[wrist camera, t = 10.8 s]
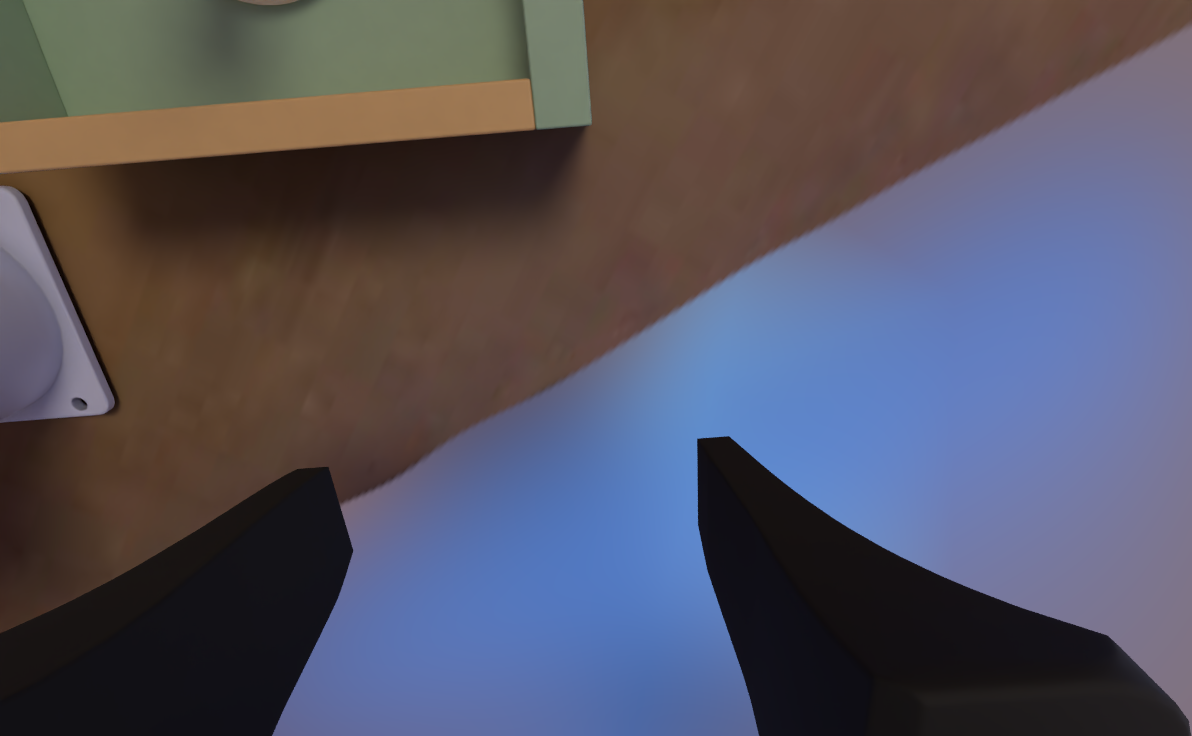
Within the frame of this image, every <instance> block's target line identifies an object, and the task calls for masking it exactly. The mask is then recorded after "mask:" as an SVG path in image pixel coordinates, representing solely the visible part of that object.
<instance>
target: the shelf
mask: <svg viewBox="0 0 1192 736" xmlns="http://www.w3.org/2000/svg"><path fill="white" fill-rule="evenodd" d="M591 124H592V117H591V103H590V89H589V76H588V62H587V48H586V34H585V21H584V7H583V0H299V1H295V2H292V3H288V4H282V5H257V4H251V3H246V2H242V1H239V0H0V174H8V173H20V172H32V171H44V170H56V169H68V168H80V167H93V166H105V165H117V164H129V163H141V162H153V161H165V160H177V159H190V158H202V157H214V156H226V155H238V154H250V153H262V152H275V151H287V150H299V149H311V148H323V147H335V146H347V145H360V144H372V143H384V142H396V141H408V140H420V139H432V138H445V137H457V136H469V135H481V134H493V133H505V132H517V131H530V130H535V129H538V130H542V129H554V128H566V127H578V126H590V125H591Z"/></svg>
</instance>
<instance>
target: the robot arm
mask: <svg viewBox="0 0 1192 736" xmlns="http://www.w3.org/2000/svg"><path fill="white" fill-rule="evenodd" d="M80 398H81V399H83V400H84V401H85V402H86V403H87V405H85V404H84V403H83V402H82V401H81V400H80ZM114 404H115V401H114V397H113V395H112V392H111V390H110V388H109V386H108V383H107V381H106V379H105V376H104V374H103V372H102V370H101V367H100V365H99V363H98V361H97V358H96V356H95V354H94V352H93V349H92V347H91V345H90V342H89V340H88V338H87V336H86V333H85V331H84V329H83V327H82V324H81V322H80V320H79V318H78V315H77V313H76V311H75V308H74V306H73V304H72V302H71V299H70V297H69V295H68V293H67V290H66V288H65V286H64V283H63V281H62V279H61V277H60V274H59V272H58V270H57V268H56V265H55V263H54V261H53V259H52V256H51V254H50V252H49V249H48V247H47V245H46V243H45V240H44V238H43V236H42V234H41V231H40V229H39V227H38V225H37V222H36V220H35V218H34V215H33V213H32V211H31V209H30V206H29V204H28V202H27V200H26V198H25V197H24V195H23V194H22V193H21V192H20V191H18V190H17V189H15V188H13V187H11V186H0V423H1V422H14V421H27V420H40V419H53V418H66V417H79V416H92V415H101V414H105V413H106V412H108V411H109V410H111V409H112V408H113V407H114ZM697 447H698V448H697V449H698V450H697V451H698V452H697V453H698V526H699V531H700V536H701V541H702V546H703V551H704V556H705V560H706V565H707V570H708V573H709V576H710V579H711V582H712V585H713V588H714V591H715V594H716V597H717V600H718V603H719V606H720V609H721V612H722V615H723V618H724V620H725V623H726V626H727V629H728V632H729V635H730V638H731V641H732V644H733V646H734V650H735V652H736V655H737V658H738V661H739V664H740V667H741V670H742V673H743V676H744V679H745V682H746V686H747V689H748V693H749V696H750V699H751V703H752V707H753V711H754V716H755V720H756V724H757V728H758V733H759V736H1191V733H1190V726H1189V721H1188V719H1187V718H1186V716H1185V715H1184V714H1183V712H1182V711H1181V710H1180V708H1179V707H1178V705H1177V704H1176V703H1175V702H1174V701H1173V700H1172V699H1171V698H1170V697H1169V696H1168V695H1167V694H1166V693H1165V692H1164V691H1163V690H1162V689H1161V688H1160V687H1159V686H1158V685H1157V684H1156V683H1155V682H1154V681H1153V680H1152V679H1151V678H1150V677H1149V676H1148V675H1147V674H1146V673H1145V672H1144V671H1143V670H1142V669H1141V668H1140V667H1139V666H1138V665H1137V664H1136V663H1135V662H1134V661H1133V660H1132V659H1131V658H1130V657H1129V656H1128V655H1127V654H1126V653H1125V652H1124V651H1123V650H1122V649H1121V648H1120V647H1119V646H1118V645H1117V644H1116V643H1115V642H1114V641H1113V640H1112V639H1111V638H1109V637H1108V636H1107V635H1104V634H1101V633H1098V632H1094V631H1092V630H1088V629H1085V628H1082V627H1079V626H1076V625H1073V624H1070V623H1066V622H1063V621H1060V620H1057V619H1054V618H1051V617H1047V616H1045V615H1042V614H1039V613H1035V612H1032V611H1029V610H1026V609H1023V608H1020V607H1017V606H1015V605H1012V604H1009V603H1007V602H1004V601H1001V600H999V599H996V598H994V597H991V596H988V595H986V594H983V593H980V592H978V591H976V590H973V589H970V588H968V587H965V586H963V585H961V584H958V583H956V582H954V581H951V580H949V579H947V578H944V577H942V576H940V575H937V574H935V573H933V572H931V571H929V570H927V569H925V568H922V567H920V566H918V565H917V564H914V563H912V562H910V561H908V560H906V559H904V558H902V557H900V556H898V555H896V554H894V553H892V552H890V551H888V550H886V549H884V548H882V547H881V546H879V545H877V544H875V543H874V542H872V541H870V540H868V539H867V538H865V537H863V536H862V535H860V534H858V533H856V532H855V531H853V530H851V529H849V528H848V527H846V526H845V525H843V524H841V523H840V522H838V521H836V520H835V519H833V518H832V517H830V516H829V515H828V514H826V513H825V512H823V511H822V510H820V509H819V508H817V507H816V506H814V505H813V504H811V503H810V502H809V501H807V500H806V499H805V498H803V497H802V496H801V495H799V494H798V493H796V492H795V491H794V490H792V489H791V488H790V487H788V486H787V485H786V484H785V483H783V482H782V481H781V480H780V479H778V478H777V477H776V476H775V475H773V474H772V473H771V472H770V471H769V470H767V469H766V468H765V467H764V466H763V465H761V464H760V463H759V462H758V461H757V460H756V459H754V458H753V457H752V456H751V455H750V454H749V453H748V452H746V451H745V450H744V449H743V448H742V447H741V446H739V445H738V444H737V443H736V442H735V441H734V440H732V439H731V438H730V437H729V436H728V437H715V438H701V439H697ZM352 553H353V548H352V545H351V542H350V538H349V535H348V532H347V528H346V525H345V521H344V518H343V515H342V511H341V508H340V504H339V501H338V498H337V494H336V491H335V488H334V484H333V481H332V478H331V474H330V471H329V467H319V468H306V469H297V470H295V471H293V472H291V473H289V474H287V475H285V476H283V477H281V478H280V479H278V480H276V481H274V482H273V483H271V484H269V485H268V486H266V487H265V488H263V489H261V490H260V491H258V492H257V493H255V494H253V495H252V496H250V497H249V498H247V499H246V500H244V501H242V502H241V503H239V504H238V505H236V506H235V507H233V508H231V509H230V510H228V511H227V512H225V513H224V514H222V515H220V516H219V517H217V518H216V519H214V520H213V521H211V522H209V523H208V524H206V525H205V526H203V527H202V528H200V529H198V530H197V531H195V532H193V533H192V534H190V535H188V536H187V537H185V538H183V539H182V540H180V541H178V542H177V543H175V544H173V545H172V546H170V547H168V548H167V549H165V550H163V551H162V552H160V553H158V554H157V555H155V556H153V557H152V558H150V559H148V560H147V561H145V562H143V563H142V564H140V565H138V566H136V567H135V568H133V569H131V570H129V571H127V572H126V573H124V574H122V575H120V576H118V577H116V578H115V579H113V580H111V581H109V582H107V583H105V584H103V585H101V586H99V587H97V588H95V589H93V590H92V591H90V592H88V593H86V594H84V595H82V596H80V597H78V598H76V599H74V600H72V601H70V602H68V603H66V604H64V605H62V606H60V607H58V608H56V609H53V610H51V611H49V612H47V613H45V614H42V615H40V616H38V617H36V618H34V619H31V620H29V621H27V622H25V623H23V624H20V625H18V626H16V627H14V628H11V629H9V630H7V631H5V632H3V633H0V736H272V734H273V732H274V730H275V728H276V725H277V723H278V721H279V718H280V716H281V714H282V712H283V709H284V707H285V705H286V703H287V701H288V699H289V697H290V695H291V693H292V691H293V689H294V687H295V685H296V683H297V681H298V679H299V677H300V675H301V673H302V671H303V669H304V667H305V665H306V663H307V661H308V659H309V657H310V655H311V653H312V651H313V649H314V647H315V645H316V643H317V641H318V638H319V637H320V635H321V632H322V630H323V628H324V626H325V624H326V622H327V620H328V618H329V616H330V614H331V611H332V610H333V607H334V605H335V603H336V601H337V599H338V596H339V593H340V591H341V587H342V585H343V582H344V579H345V576H346V573H347V569H348V566H349V563H350V560H351V556H352Z"/></svg>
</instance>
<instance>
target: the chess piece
mask: <svg viewBox="0 0 1192 736" xmlns="http://www.w3.org/2000/svg"><path fill="white" fill-rule="evenodd" d="M239 1H242V2H246V3H251V4H257V5H282V4H288V3H292V2H295V1H299V0H239Z"/></svg>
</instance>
